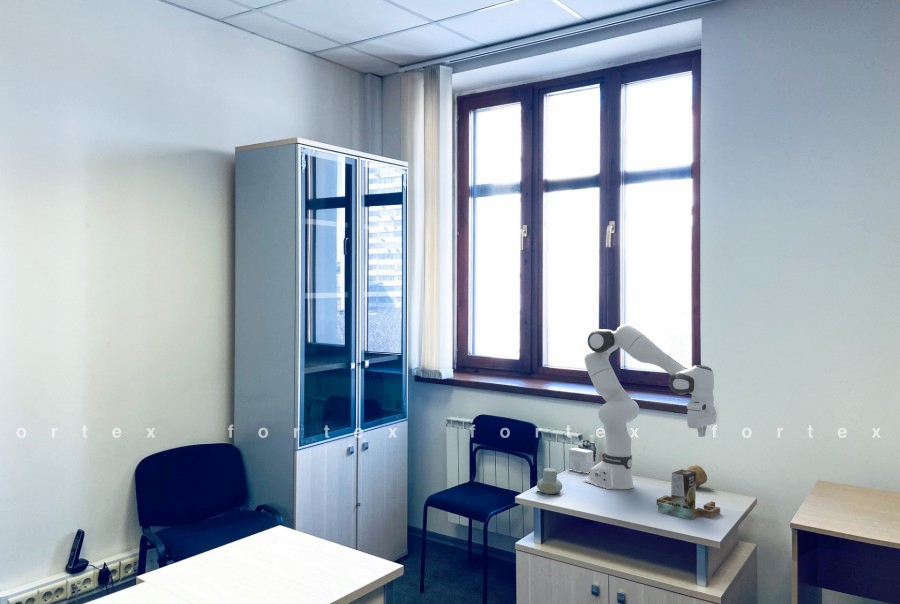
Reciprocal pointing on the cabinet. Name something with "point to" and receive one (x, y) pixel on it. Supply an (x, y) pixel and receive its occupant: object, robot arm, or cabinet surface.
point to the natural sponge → (698, 475)
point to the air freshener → (549, 482)
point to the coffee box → (683, 489)
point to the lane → (667, 508)
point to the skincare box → (580, 459)
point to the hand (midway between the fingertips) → (701, 436)
